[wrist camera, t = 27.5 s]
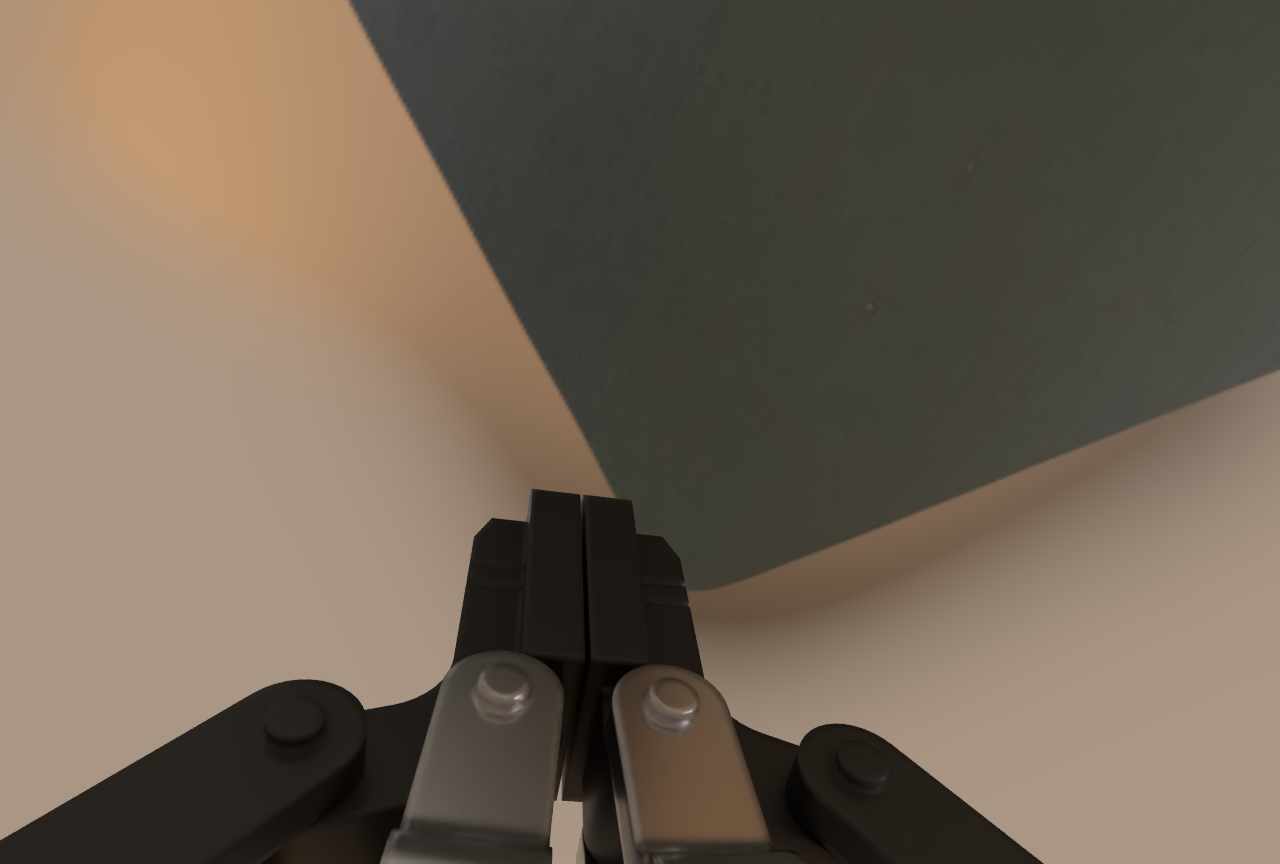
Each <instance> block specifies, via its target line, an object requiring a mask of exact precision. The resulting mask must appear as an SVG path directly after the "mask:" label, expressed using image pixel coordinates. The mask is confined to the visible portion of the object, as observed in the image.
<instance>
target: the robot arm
mask: <svg viewBox="0 0 1280 864" xmlns="http://www.w3.org/2000/svg"><path fill="white" fill-rule="evenodd" d="M684 584H685V581H684V576H683V571H682V566H681V561H680V558H679V557H678V556H677V555H676V553H675V552H674V551H673V550H672V548H671V547H670V546H669V545H668V543H667V542H666V541H665V540H664V538H663V537H659V536H650V535H641V534H636V528H635V521H634V513H633V505H632V501H631V500H624V499H615V498H606V497H598V496H590V495H583V497H582V500H580V495H579V494H571V493H563V492H554V491H546V490H537V489H532V490H531V495H530V501H529V507H528V514H527V521H526V522H522V521H514V520H505V519H496V518H492V519H491V520H490V521H489V522H488V523H487V524H486V525H485V526H484V527H483V528H482V529H481V530H480V531H479V532H478V533H477V534H476V535H475V537H474V541H473V547H472V553H471V559H470V565H469V571H468V576H467V583H466V588H465V594H464V601H463V606H462V613H461V619H460V624H459V630H458V636H457V642H456V648H455V654H454V659H453V663H452V666H451V668H450V670H449V671H448V672H447V674H446V675H445V677H444V679H443V680H442V681H441V682H440V683H439V684H438V685H437V686H435V687H434V688H433V689H431V690H430V691H428V692H427V693H425V694H423V695H421V696H419V697H417V698H415V699H412V700H409V701H406V702H403V703H399V704H395V705H390V706H384V707H379V708H374V709H367V710H364V708H363V706H362V705H361V703H360V702H359V700H358V699H357V698H356V697H355V696H354V695H353V694H352V693H351V692H349V691H347V690H345V689H344V688H343V687H340V686H338V685H335V684H333V683H329V682H325V681H319V680H291V681H285V682H281V683H277V684H273V685H271V686H268V687H265V688H263V689H261V690H259V691H257V692H255V693H253V694H251V695H249V696H248V697H246V698H244V699H243V700H241V701H239V702H237V703H236V704H234V705H232V706H230V707H229V708H227V709H225V710H224V711H222V712H220V713H218V714H217V715H215V716H213V717H212V718H210V719H208V720H206V721H205V722H203V723H201V724H199V725H198V726H196V727H194V728H193V729H191V730H189V731H187V732H186V733H184V734H182V735H181V736H179V737H177V738H176V739H174V740H172V741H170V742H169V743H167V744H165V745H163V746H162V747H160V748H159V749H157V750H155V751H153V752H151V753H150V754H148V755H146V756H144V757H143V758H141V759H139V760H138V761H136V762H134V763H133V764H131V765H129V766H128V767H126V768H124V769H122V770H121V771H119V772H117V773H116V774H114V775H112V776H110V777H108V778H107V779H105V780H103V781H102V782H100V783H98V784H96V785H95V786H93V787H91V788H90V789H88V790H86V791H84V792H83V793H81V794H79V795H78V796H76V797H74V798H72V799H71V800H69V801H67V802H66V803H64V804H62V805H60V806H59V807H57V808H55V809H54V810H52V811H50V812H48V813H47V814H45V815H43V816H42V817H40V818H38V819H36V820H35V821H33V822H31V823H29V824H28V825H26V826H25V827H23V828H21V829H19V830H18V831H16V832H14V833H12V834H11V835H9V836H7V837H5V838H4V839H2V840H0V864H552V847H549V844H550V833H551V823H552V813H553V804H554V801H556V800H557V795H558V790H559V785H560V780H561V776H562V801H577V802H583V828H582V833H581V837H580V842H579V846H578V851H577V856H576V861H577V864H1043V863H1042V862H1041V861H1040V860H1038V859H1037V858H1036V857H1034V856H1033V855H1032V854H1031V853H1029V852H1028V851H1027V850H1026V849H1024V848H1023V847H1022V846H1020V845H1019V844H1018V843H1017V842H1015V841H1014V840H1013V839H1011V838H1010V837H1009V836H1008V835H1006V834H1005V833H1004V832H1003V831H1001V830H1000V829H999V828H997V827H996V826H995V825H994V824H992V823H991V822H990V821H988V820H987V819H986V818H985V817H983V816H982V815H981V814H980V813H978V812H977V811H976V810H974V809H973V808H972V807H971V806H969V805H968V804H967V803H966V802H964V801H963V800H962V799H961V798H959V797H958V796H957V795H955V794H954V793H953V792H952V791H950V790H949V789H948V788H946V787H945V786H944V785H943V784H941V783H940V782H939V781H938V780H936V779H935V778H934V777H932V776H931V775H930V774H929V773H927V772H926V771H925V770H924V769H922V768H921V767H920V766H918V765H917V764H916V763H915V762H913V761H912V760H911V759H909V758H908V757H907V756H906V755H904V754H903V753H902V752H900V751H899V750H898V749H897V748H895V747H894V746H893V745H892V744H890V743H889V742H887V741H886V740H884V739H883V738H881V737H879V736H878V735H876V734H874V733H872V732H870V731H867V730H865V729H863V728H859V727H856V726H852V725H846V724H826V725H823V726H819V727H816V728H814V729H813V730H811V731H810V732H808V733H807V734H806V735H805V736H804V738H803V739H802V741H801V743H800V746H798V745H795V744H792V743H789V742H786V741H783V740H780V739H778V738H775V737H772V736H769V735H766V734H763V733H760V732H758V731H755V730H753V729H751V728H749V727H747V726H745V725H743V724H741V723H739V722H738V721H737V720H735V719H734V718H732V717H731V715H730V712H729V709H728V706H727V704H726V702H725V700H724V698H723V697H722V695H721V694H720V692H719V691H718V690H717V689H716V688H715V687H714V686H713V685H712V684H711V683H710V682H708V681H707V680H706V679H704V675H703V670H702V665H701V660H700V655H699V650H698V645H697V640H696V635H695V631H694V625H693V620H692V616H691V611H690V607H688V603H689V601H688V596H687V591H686V587H684Z"/></svg>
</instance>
